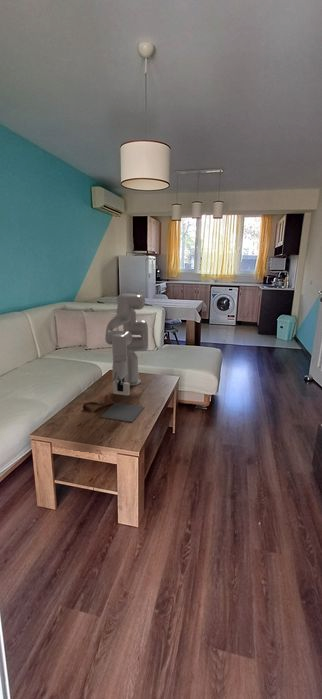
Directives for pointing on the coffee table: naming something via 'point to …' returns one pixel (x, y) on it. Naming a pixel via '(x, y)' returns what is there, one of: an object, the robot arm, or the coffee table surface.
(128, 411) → the mat
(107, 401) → the sunglasses case
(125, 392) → the block
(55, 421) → the coffee table surface
